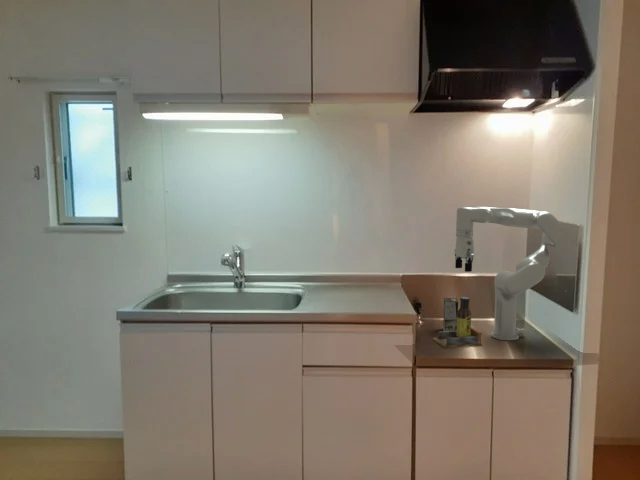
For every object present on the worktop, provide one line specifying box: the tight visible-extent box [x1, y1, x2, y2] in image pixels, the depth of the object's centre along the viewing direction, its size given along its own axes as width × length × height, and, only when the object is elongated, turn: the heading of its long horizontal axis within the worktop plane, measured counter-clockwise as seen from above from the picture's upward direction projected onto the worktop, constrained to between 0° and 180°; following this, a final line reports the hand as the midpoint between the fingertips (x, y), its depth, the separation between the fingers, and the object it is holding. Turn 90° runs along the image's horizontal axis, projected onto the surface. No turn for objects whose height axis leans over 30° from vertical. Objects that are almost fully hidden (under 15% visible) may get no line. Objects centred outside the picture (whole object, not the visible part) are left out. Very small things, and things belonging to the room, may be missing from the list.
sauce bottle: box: [456, 296, 472, 337], centre depth 218 cm, size 6×6×20 cm
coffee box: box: [442, 297, 459, 331], centre depth 233 cm, size 9×6×16 cm
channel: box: [432, 326, 483, 349], centre depth 218 cm, size 18×12×6 cm, turn 99°
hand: (463, 269), depth 223 cm, fingers open, 9 cm apart
